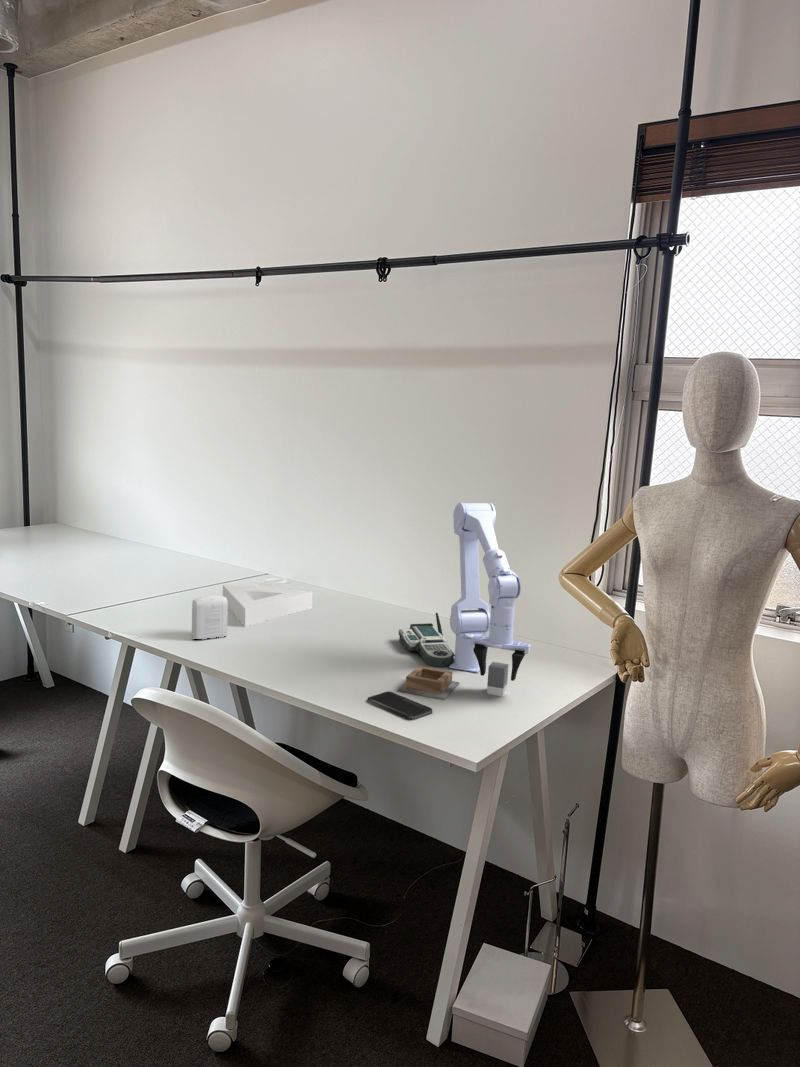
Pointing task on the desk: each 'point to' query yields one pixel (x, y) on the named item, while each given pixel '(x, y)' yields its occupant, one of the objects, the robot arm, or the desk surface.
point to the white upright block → (209, 617)
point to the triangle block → (265, 602)
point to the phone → (400, 705)
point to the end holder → (429, 683)
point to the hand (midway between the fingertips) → (498, 676)
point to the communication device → (427, 643)
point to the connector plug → (497, 678)
